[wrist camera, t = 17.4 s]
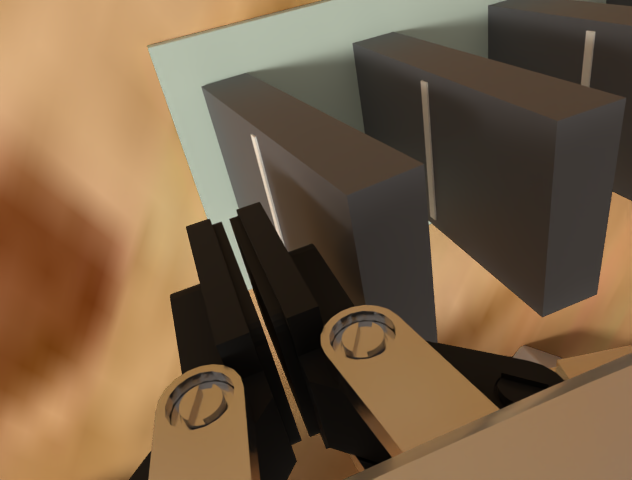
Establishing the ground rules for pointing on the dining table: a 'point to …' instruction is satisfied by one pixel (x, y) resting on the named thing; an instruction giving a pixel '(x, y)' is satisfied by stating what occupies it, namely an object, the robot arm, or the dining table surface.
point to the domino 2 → (571, 53)
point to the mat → (295, 70)
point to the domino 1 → (331, 194)
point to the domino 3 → (501, 160)
